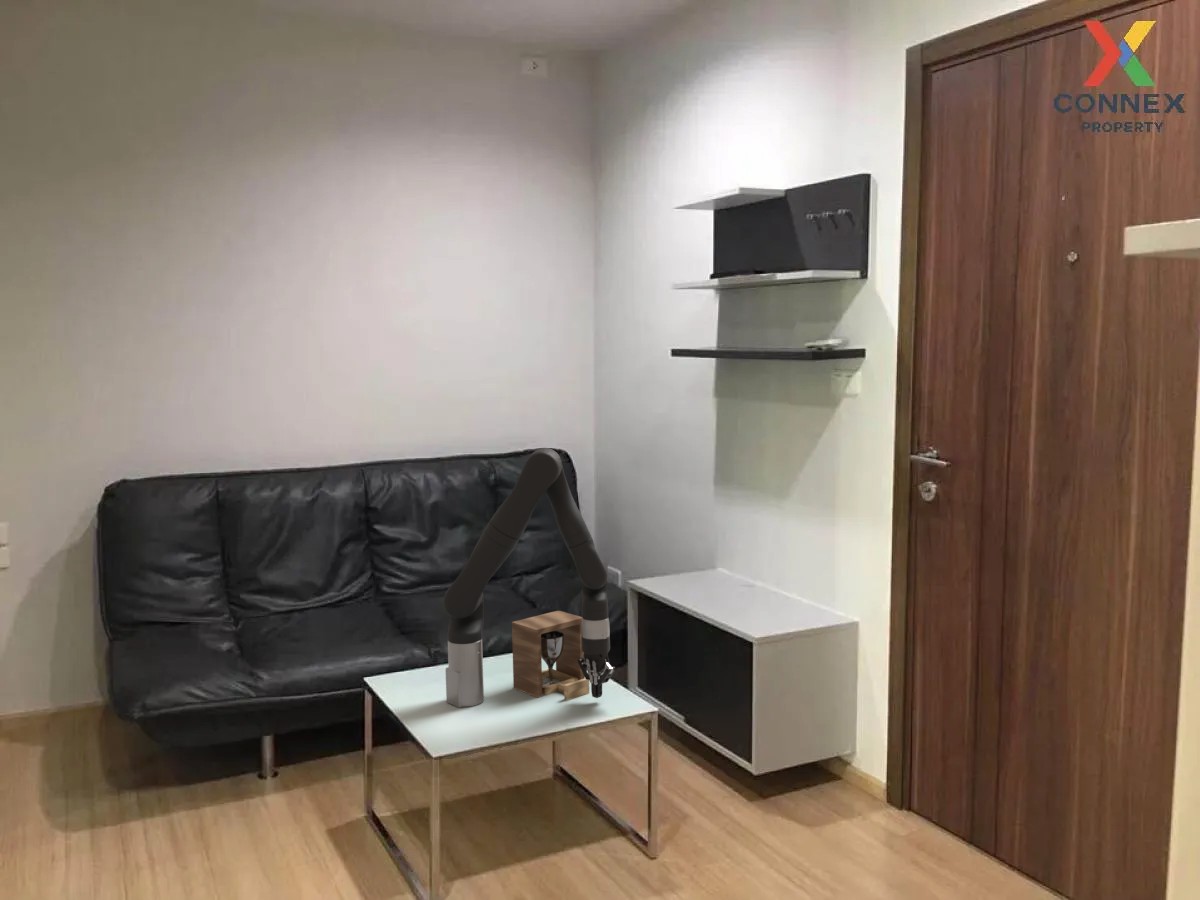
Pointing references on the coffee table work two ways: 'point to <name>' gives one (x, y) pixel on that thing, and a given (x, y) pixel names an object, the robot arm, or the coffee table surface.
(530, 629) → the wooden arch frame
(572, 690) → the drawer
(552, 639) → the wine glass
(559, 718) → the coffee table surface
